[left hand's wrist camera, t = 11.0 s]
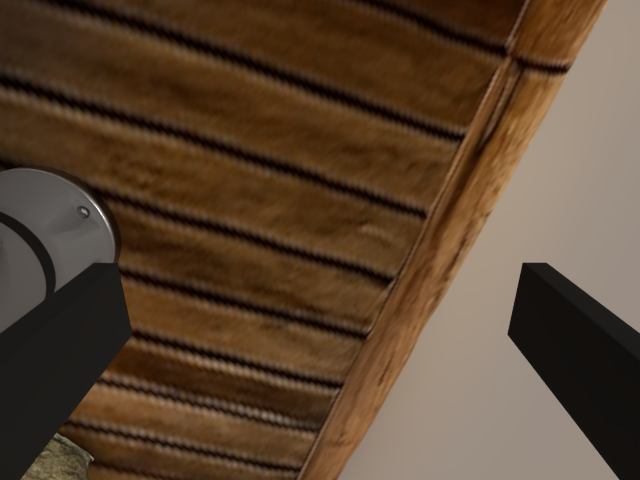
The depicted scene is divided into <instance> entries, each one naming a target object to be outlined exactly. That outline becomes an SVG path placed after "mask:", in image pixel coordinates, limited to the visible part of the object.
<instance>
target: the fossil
mask: <svg viewBox="0 0 640 480" xmlns="http://www.w3.org/2000/svg"><path fill="white" fill-rule="evenodd" d="M93 460H94V458H93V457H92V456H91V455H90V454H89V453H88V452H86V451H84V450H83V449H81V448H80V447H79V446H77V445H76V444H74V443H73V442H71V441H70V440H68V439H67V438H65V437H62V436H60V435H59V434H58V433H56V434H55V436H54V437H53V438H52V439H51V441H50V442H49V443H48V445H47V446H46V447H45V449H44V450H43V451H42V452H41V454H40V455H39V456H38V458H37V459H36V460H35V461H34V463H33V464H32V465H31V467H30V468H29V469H28V471H27V472H26V473H25V474H24V476H23V477H22V478H21V480H90V479H89V476H88V472H87V470H88V468H89V465H90V463H91V462H92V461H93Z"/></svg>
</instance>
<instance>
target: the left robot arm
mask: <svg viewBox="0 0 640 480" xmlns="http://www.w3.org/2000/svg"><path fill="white" fill-rule="evenodd" d="M120 248H121V243H120V235H119V230H118V227H117V224H116V222H115V219H114V217H113V215H112V213H111V212H110V210H109V208H108V207H107V205H106V204H105V203H104V201H103V200H102V199H101V198H100V197H99V196H98V195H97V194H96V193H95V192H94V191H93V190H92V189H91V188H90V187H88V186H87V185H86V184H84V183H83V182H82V181H80V180H78V179H77V178H75V177H73V176H71V175H69V174H67V173H65V172H62V171H59V170H56V169H53V168H48V167H42V166H24V167H18V168H14V169H10V170H6V171H3V172H0V480H21V478H22V477H23V476H24V474H25V473H26V472H27V471H28V469H29V468H30V467H31V465H32V464H33V463H34V461H35V460H36V459H37V458H38V456H39V455H40V454H41V452H42V451H43V450H44V449H45V447H46V446H47V445H48V443H49V442H50V441H51V439H52V438H53V437H54V436H55V434H56V433H57V432H58V430H59V429H60V428H61V426H62V425H63V424H64V423H65V421H66V420H67V419H68V417H69V416H70V415H71V414H72V412H73V411H74V410H75V408H76V407H77V406H78V404H79V403H80V402H81V401H82V399H83V398H84V397H85V395H86V394H87V393H88V391H89V390H90V389H91V388H92V386H93V385H94V384H95V382H96V381H97V380H98V379H99V377H100V376H101V375H102V373H103V372H104V371H105V369H106V368H107V367H108V366H109V364H110V363H111V362H112V360H113V359H114V358H115V356H116V355H117V354H118V353H119V351H120V350H121V349H122V347H123V346H124V345H125V343H126V342H127V341H128V340H129V338H130V337H131V336H132V330H131V325H130V320H129V316H128V311H127V306H126V302H125V297H124V292H123V288H122V283H121V278H120V274H119V269H118V264H117V263H118V260H119V256H120ZM508 336H509V337H510V338H511V340H512V341H513V342H514V343H515V345H516V346H517V347H518V349H519V350H520V351H521V353H522V354H523V355H524V356H525V358H526V359H527V360H528V362H529V363H530V364H531V366H532V367H533V368H534V369H535V371H536V372H537V373H538V375H539V376H540V377H541V379H542V380H543V381H544V382H545V384H546V385H547V386H548V388H549V389H550V390H551V391H552V393H553V394H554V395H555V397H556V398H557V399H558V400H559V402H560V403H561V404H562V406H563V407H564V408H565V410H566V411H567V412H568V414H569V415H570V416H571V417H572V419H573V420H574V421H575V423H576V424H577V425H578V426H579V428H580V429H581V430H582V432H583V433H584V434H585V436H586V437H587V438H588V439H589V441H590V442H591V443H592V445H593V446H594V447H595V448H596V450H597V451H598V452H599V454H600V455H601V456H602V458H603V459H604V460H605V461H606V463H607V464H608V465H609V467H610V468H611V469H612V471H613V472H614V473H615V474H616V476H617V477H618V478H619V480H640V333H639V332H637V331H636V330H635V329H633V328H632V327H631V326H629V325H628V324H627V323H625V322H624V321H623V320H621V319H620V318H619V317H617V316H616V315H615V314H613V313H612V312H611V311H609V310H608V309H607V308H606V307H604V306H603V305H602V304H600V303H599V302H598V301H596V300H595V299H594V298H592V297H591V296H590V295H588V294H587V293H586V292H584V291H583V290H582V289H580V288H579V287H578V286H576V285H575V284H574V283H573V282H571V281H570V280H569V279H567V278H566V277H565V276H563V275H562V274H561V273H559V272H558V271H557V270H555V269H554V268H553V267H551V266H550V265H549V264H547V263H523V264H522V269H521V274H520V278H519V283H518V288H517V292H516V297H515V302H514V306H513V311H512V316H511V321H510V325H509V330H508Z"/></svg>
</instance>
